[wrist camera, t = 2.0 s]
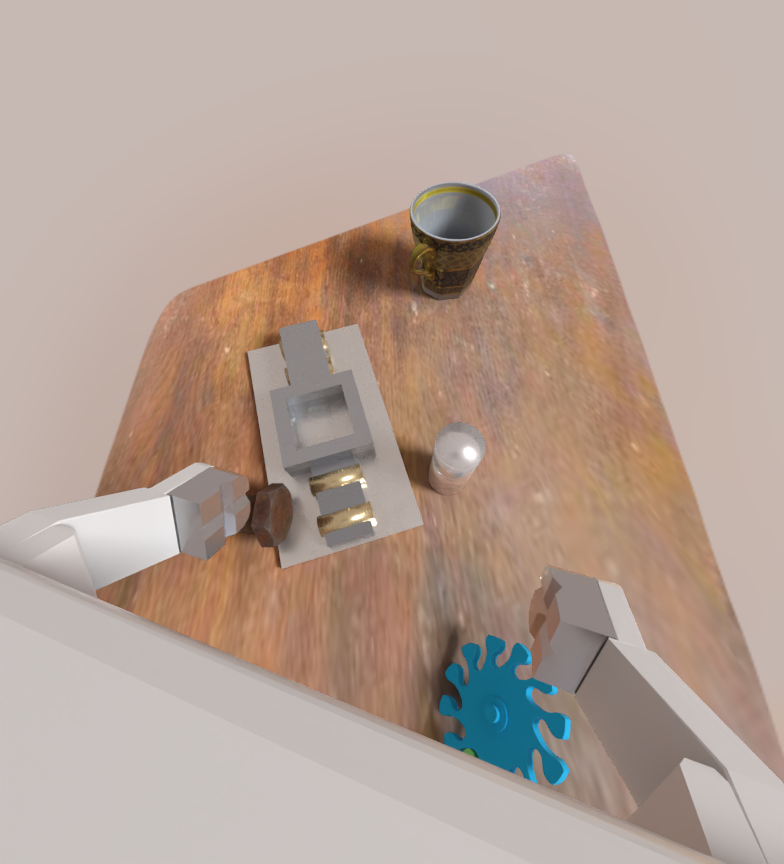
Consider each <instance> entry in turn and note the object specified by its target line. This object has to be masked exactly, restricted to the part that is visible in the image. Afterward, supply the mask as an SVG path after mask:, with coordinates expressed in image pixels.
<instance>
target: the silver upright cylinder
mask: <svg viewBox="0 0 784 864" xmlns="http://www.w3.org/2000/svg"><path fill="white" fill-rule="evenodd" d="M485 448H486V446H485V440H484V438H483V436H482V434H481V433H480V432H479V430H477V429H476V428H475V427H473V426H472V425H469V424H467V423H461V422H457V423H451V424H449V425H447V426H445V427H444V428H443V429H442V430H441V431H440V432H439V434H438V436H437V438H436V443H435V447H434V451H433V455H432V460H431V464H430V468H429V473H428V479H429V483H430V485H431V487H432V488H433V489H434V490H435V491H436V492H438V493H440V494H442V495H448V496H450V495H455V494H457V493H459V492H460V491H461V490H462V489H463V488H464V487H465V485H466V483H467V482H468V480H469V479H470V477H471V475H472V474H473V472H474V471H475V469H476V467H477V466H478V464H479V463H480V461H481V459H482V458H483V456H484V453H485Z"/></svg>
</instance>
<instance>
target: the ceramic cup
mask: <svg viewBox="0 0 784 864" xmlns="http://www.w3.org/2000/svg"><path fill="white" fill-rule="evenodd" d="M500 218H501V209H500V206H499V203H498V202H497V200H496V199H495V198H494V197H493V196H492V195H491V194H490V193H489V192H487V191H486V190H484V189H482V188H480V187H478V186H475V185H472V184H468V183H461V182H447V183H440V184H437V185H433V186H431V187H429V188H427V189H425V190H423V191H421V192H420V193H419V194H418V195H417V196H416V197H415V198H414V200H413V201H412V203H411V206H410V220H411V227H412V233H413V239H414V243H415V246H416V247H415V249H414V250H413V252H412V255H411V258H410V263H409V269H410V271H411V272H412V273H413V274H416V275H420V276H421V281H422V286H423V290H424V292H425V293H427V294H429V295H430V296H432V297H434V298H436V299H438V300H445V299H454V298H459V297H460V296H461V295H462V294H463V293H464V292H465V291H466V289H467V288H468V287H469V286H470V285H471V283H472V281H473V279H474V276H475V274H476V272H477V270H478V268H479V265H480V263H481V261H482V259H483V256H484V254H485V252H486V250H487V249H488V247H489V245H490V243H491V241H492V238H493V236H494V234H495V232H496V229H497V227H498V224H499V221H500ZM417 260H418V262H419V270H415V269H414V267H415V263H416V261H417Z"/></svg>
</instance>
